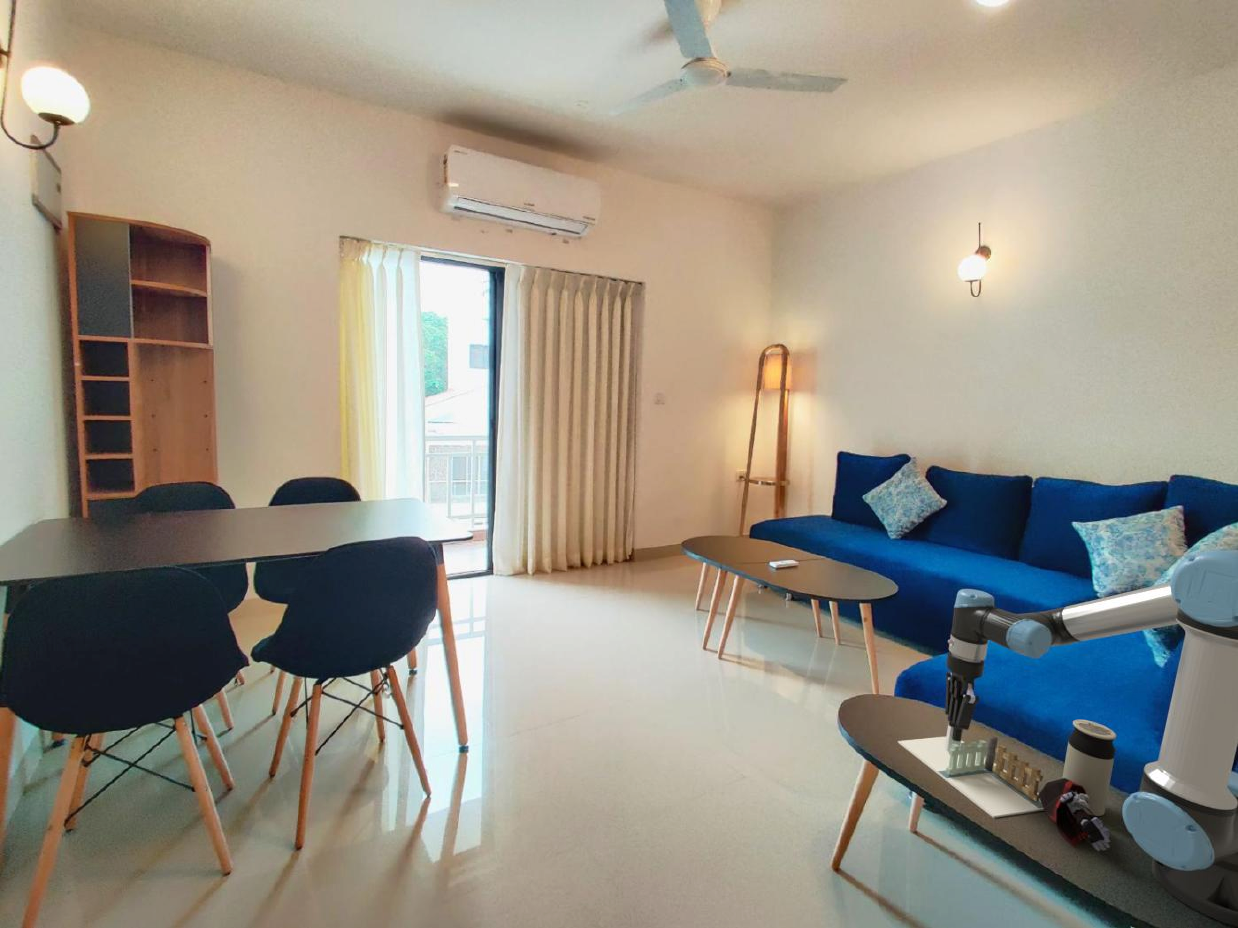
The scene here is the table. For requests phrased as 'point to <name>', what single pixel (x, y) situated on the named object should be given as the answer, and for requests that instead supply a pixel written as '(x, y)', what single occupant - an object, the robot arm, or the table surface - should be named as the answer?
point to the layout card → (974, 780)
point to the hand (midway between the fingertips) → (952, 750)
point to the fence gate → (962, 753)
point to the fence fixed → (1012, 768)
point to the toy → (1073, 813)
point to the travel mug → (1091, 761)
